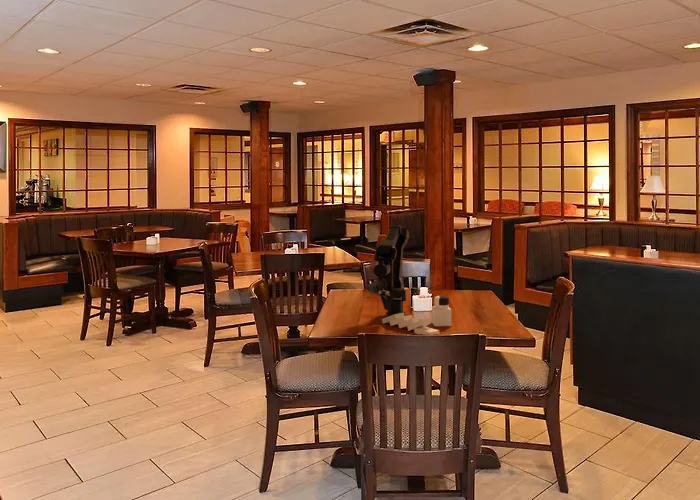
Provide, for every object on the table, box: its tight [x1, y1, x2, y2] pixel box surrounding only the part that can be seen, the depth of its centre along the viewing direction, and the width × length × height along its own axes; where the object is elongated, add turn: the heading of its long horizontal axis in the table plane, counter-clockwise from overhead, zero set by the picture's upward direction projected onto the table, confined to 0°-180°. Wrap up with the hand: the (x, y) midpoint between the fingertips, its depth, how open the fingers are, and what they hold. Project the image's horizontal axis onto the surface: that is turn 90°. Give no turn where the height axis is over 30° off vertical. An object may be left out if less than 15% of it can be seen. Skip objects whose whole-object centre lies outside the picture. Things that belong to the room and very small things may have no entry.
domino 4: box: [413, 326, 440, 335], centre depth 247 cm, size 2×5×9 cm
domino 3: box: [406, 317, 432, 332], centre depth 250 cm, size 2×5×9 cm
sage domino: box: [381, 313, 405, 324], centre depth 263 cm, size 2×5×9 cm
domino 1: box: [389, 314, 414, 327], centre depth 259 cm, size 2×5×9 cm
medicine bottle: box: [431, 295, 452, 327], centre depth 262 cm, size 7×7×12 cm
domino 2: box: [397, 316, 423, 329], centre depth 254 cm, size 2×5×9 cm
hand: (386, 309), depth 266 cm, fingers closed
